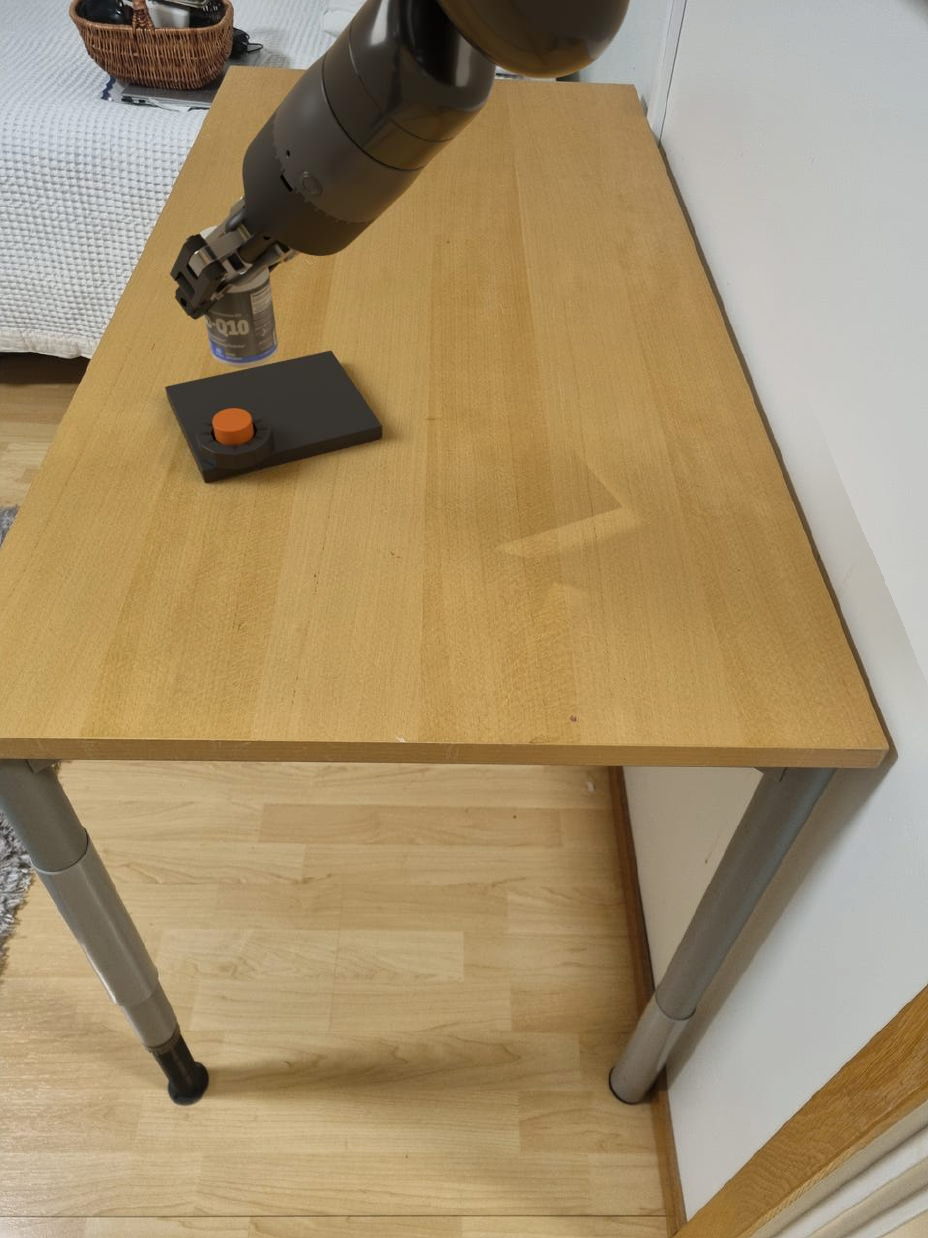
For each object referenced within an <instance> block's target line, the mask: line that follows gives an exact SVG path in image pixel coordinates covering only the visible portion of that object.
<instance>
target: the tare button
mask: <svg viewBox="0 0 928 1238" xmlns="http://www.w3.org/2000/svg"><path fill="white" fill-rule="evenodd" d="M212 423H213V428H214V433H215V438H216V440H217V441H218V442H219V443H221V444H223V445H234V446H235V445H239V444H244V443H247V442H248V441H250V440H251V439H252V438H253V435H254V430H253V423H252V417H251V415H250V414H249V413H248V412H247V411H245V410H242V409H237V408H231V409H226V410H222V411H220V412H219V413H217V414H216V415H215V416H214V418H213V420H212Z"/></svg>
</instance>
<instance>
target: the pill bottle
mask: <svg viewBox="0 0 928 1238" xmlns="http://www.w3.org/2000/svg"><path fill="white" fill-rule="evenodd" d="M218 225H219V224H218ZM218 225H217V224H216V225H214V226H210V227H207V228H205V229H204V230H202V231H200V232H199V234H201V236H202V237H203V238H204V239H205V238H206V237H207V236H208V235H209V234H210V233H211V232H212V231H213V230H214V229H215V228H216V227H217V226H218ZM236 254H237V252H236ZM237 255H238V254H237ZM238 256H239V255H238ZM239 258H240V257H239ZM240 259H241V258H240ZM241 261H242V260H241ZM242 262H243V264H244V265H245V266H246V267H247V268H249V267H250V266H251V265H252V264H248V263H245V262H244V261H242ZM270 274H271V273H270ZM270 274H269V269H268V268H266V269H265V270H264V271H263V272H262V273H261V274H260V275H258V276H257V277H256V278H255V279H254V280H253V281H251V282H250V283H247V284H245V285H243V286H240V287H235V286H233V287H232V288H231V289H229V290H228V291H227V292H226V293H225V294H224V297H223V298H221V299H220V300H218V301H217V302H216V303H215V304H214V305H213V306H212V307H211V308H210V309H209V310H208V312H207V313H206V314H205V315H203V317H204V320H205V327H206V331H207V338H208V342H209V343H208V344H209V347H210V352H211V355H212V357H213V358H214V359H215V361H217V362H218V363H220V364H222V365H225V366H227V367H230V368H235V369H236V368H237V369H248V368H253V367H257V366H262V365H265V364H267V363H268V362H270V361H271V360H272V359H273V358H274V357H275V356H276V354H277V353H278V350H279V341H278V334H277V326H276V318H275V312H274V311H275V310H274V301H273V293H272V283H271V275H270ZM224 279H225V278H223V279H222V280H221V281H223V280H224Z"/></svg>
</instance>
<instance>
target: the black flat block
mask: <svg viewBox="0 0 928 1238" xmlns="http://www.w3.org/2000/svg"><path fill="white" fill-rule="evenodd" d="M164 389H165V393H166V397H167V398H166V399H167V401H168V403H169V406H170V408H171V410H172V412H173V414H174V416H175V417H174V418H176V421H177V423H178V425H179V428H180V431H181V432H182V434H183V437H184V439H185V441H186V444H187V447H188V448H189V450H190V453H191V455H192V457H193V459H194V461H195V464H196V467H197V468H198V471H199V473H200V475H201V478H202V479H203V482H204V484H207V483H208V484H209V483H211V482H215V481H219V480H223V479H228V478H232V477H235V476H239V475H243V474H247V473H251V472H255V471H258V470H262V469H267V468H270V467H276V466H278V465H283V464H286V463H291V462H294V461H298V460H303V459H306V458H311V457H314V456H318V455H321V454H327V453H330V452H333V451H337V450H341V449H345V448H349V447H353V446H358V445H361V444H365V443H369V442H373V441H376V440H381V439H383V425H382V423H381V422H380V420H379V419H378V417H377V416H376V415H375V413H374V412H373V410H372V408H371V407H370V405H369V404H368V403H367V401H366V400H365V397H363V395H362V394H361V392H360V391H359V389H358V388H357V385H355V383H354V382H353V381H352V379H351V378H350V375H348V372H347V371H346V370H345V368H344V367H343V366H342V364H341V363H340V361H339V360H338V358H337V357H336V355H335V353H334V352H333V350H326V351H322V352H317V353H313V354H308V355H304V356H299V357H294V358H290V359H285V360H280V361H276V362H271V363H266V364H262V365H259V366H256V367H251V368H243V369H240V370H235V371H231V372H225V373H221V374H217V375H212V376H208V377H202V378H199V379H193V380H188V381H185V382H179V383H175V384H171V385H167V386H164ZM231 408H237V409H242V410H245V411H247V412H248V413H249V414H250V415H251V417H252V423H253V430H254V435H253V438H252V439H251V440H250V441H248V442H247V443H244V444H239V445H235V446H234V445H223V444H221V443H219V442H218V441H217V440H216V438H215V433H214V428H213V423H212V420H213V418H214V416H215V415H216V414H217V413H219V412H220V411H222V410H226V409H231Z"/></svg>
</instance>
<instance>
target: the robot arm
mask: <svg viewBox="0 0 928 1238" xmlns="http://www.w3.org/2000/svg"><path fill="white" fill-rule="evenodd" d="M630 3H631V0H366V1H365V2H363V4H362V6H361V7H359V9H358V10H357V12H356V13H355V15H354V16H353V17H352V19H351V20H350V22H348V24H347V25H346V26H345V28H344V29H343V30H342V32H341V34H339V36H338V37H337V38H336V40H335V41H333V44H332V45H331V46H330V47H329V48H328V49H327V51H326V52H324V53H323V54H322V55H321V56H320V57H318V59H316V60H315V61H314V62H313V63H312V64H311V65H310V66H309V67H308V68H307V69H306V70H305V72H303V74H302V75H301V76H300V77H299V78H298V80H297V81H296V83H295V84H294V85H293V86H292V88H291V89H290V90H289V92H288V93H287V94H286V96H285V97H284V98H283V100H282V101H280V103H279V105H278V106H277V108H275V110H274V112H273V113H272V114H271V116H270V117H269V118H268V120H267V121H266V122H265V124H264V125H263V127H262V128H261V129H260V130H259V132H258V133H257V134H256V135H255V136H254V138H253V140H252V141H251V142H250V144H249V145H248V147H247V149H246V151H245V154H244V157H243V161H242V167H241V168H242V169H241V174H242V175H241V176H242V185H243V194H244V195H242V196H241V197H240V198H239V199H238V200H237V201H235V202H234V203H233V205H231V206H230V209H229V214H228V216H227V217H226V218H224V219H223V220H222V221H221V222H220V223H219V224H218V226H217V225H216V226H217V227H216V228H215V229H214V230H213V231H212V232H211V233H210V234H209V235H208V236H207V237H206V238H205V239H204V238H203V237H202V236H201V234H200V233H196V234H192V235H189V236H188V237H187V238H186V239H185V240H186V241H185V242H184V243H183V244H182V246H181V248H180V250H179V252H178V255H177V257H176V260H175V262H174V264H173V266H172V268H171V270H170V273H169V276H170V277H171V278H172V279H173V281H174V282H176V283H177V285H178V287H177V288H176V289H175V295H174V299H175V300H176V301H177V303H178V304H179V306H180V307H181V308H182V310H183V311H184V312H185V314H186V315H187V317H190V318H191V319H193V320H195V321H196V320H198V319H200V318H202V317H204V315H205V314H206V313H207V312H208V310H209V309H210V308H211V307H212V306H213V305H214V304H215V303H216V302H217V301H218V300H220V299H221V298H223V297H224V294H225V293H226V292H227V291H228V290H229V289H231V288H232V287H233V286H235V287H240V286H243V285H245V284H247V283H250V282H251V281H253V280H254V279H255V278H256V277H257V276H258V275H260V274H261V273H262V272H263V271H264V270H265V269H266V268H268V269H269V274H271V273H272V272H273V271H274V270H275V269H276V268H277V267H278V266H279V265H281V264H283V263H288V262H289V261H291V260H293V259H294V258H296V257H297V256H299V255H300V254H304V255H308V256H314V257H315V256H316V257H327V256H332V255H336V254H337V253H340V252H342V251H343V250H345V249H347V247H349V246H350V245H351V244H352V243H353V242H354V241H355V240H356V239H357V238H359V237H360V235H361V234H362V233H364V232H365V231H366V230H367V229H368V228H369V227H370V226H371V225H372V224H373V223H374V222H376V220H378V219H379V217H381V216H382V215H383V214H384V213H385V212H387V210H388V209H389V208H390V207H391V206H392V205H393V204H395V202H397V200H399V199H400V198H401V197H402V196H403V195H404V194H405V193H406V192H407V191H408V190H409V189H410V188H411V187H412V185H413V184H414V182H415V181H416V180H417V179H418V177H419V176H420V175H421V174H422V172H423V170H424V169H425V168H426V167H427V166H428V165H429V163H430V162H431V161H433V160H434V159H435V158H436V157H437V156H438V155H439V154H440V153H441V152H442V151H443V150H444V149H445V148H446V147H447V146H448V145H449V144H450V143H451V142H453V140H454V139H455V138H457V137H458V136H459V135H460V133H462V132H463V131H464V130H465V129H466V128H467V127H468V126H469V125H470V124H471V123H472V121H474V119H475V118H476V117H477V116H478V115H479V114H480V113H481V111H482V110H483V109H484V108H485V106H486V104H487V103H488V101H489V99H490V96H491V93H492V90H493V88H494V85H495V80H496V76H497V75H496V74H497V67H499V68H501V69H502V70H505V71H507V72H508V73H512V74H515V75H519V76H522V77H526V78H532V79H539V80H540V79H542V80H543V79H545V80H547V79H557V78H561V77H565V76H569V75H572V74H574V73H576V72H579V71H581V70H583V69H585V68H586V67H588V66H590V65H592V64H593V63H594V62H595V61H597V60H598V59H599V58H600V57H601V56H602V55H603V54H604V53H605V52H606V50H608V48H610V46H611V44H612V43H613V41H614V40H615V38H616V37H617V36H618V34H619V32H620V31H621V29H622V26H623V24H624V22H625V19H626V16H627V14H628V11H629V7H630ZM236 252H237V254H238V255H239V256H238V255H237V254H236ZM239 257H240V258H241V259H240V258H239ZM241 260H242V261H244V262H245V263H248V264H252V265H251V266H250V267H249V268H247V267H246V266H245V265H244V264H243V262H242V261H241ZM223 278H225V279H224V280H223V281H221V280H222V279H223Z"/></svg>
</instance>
